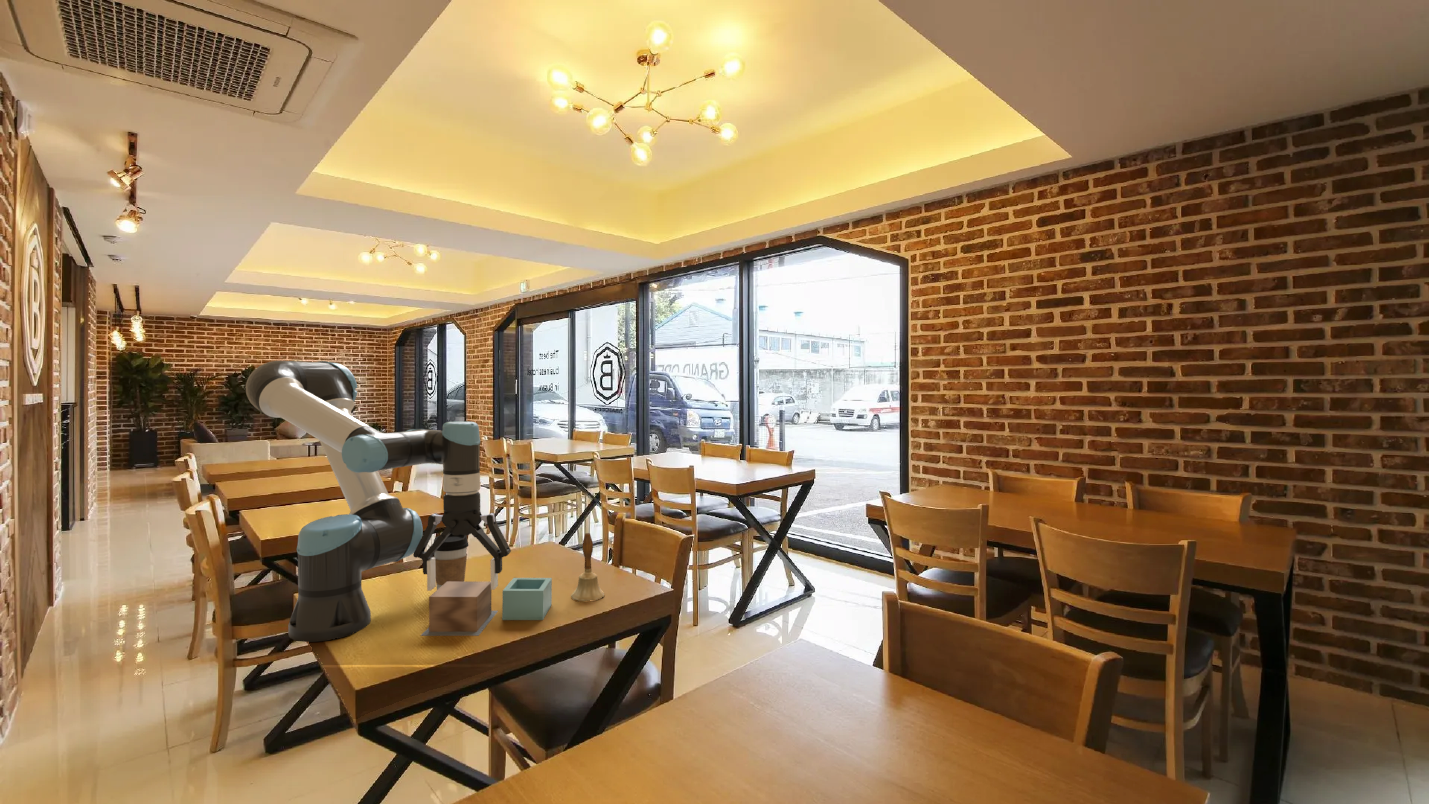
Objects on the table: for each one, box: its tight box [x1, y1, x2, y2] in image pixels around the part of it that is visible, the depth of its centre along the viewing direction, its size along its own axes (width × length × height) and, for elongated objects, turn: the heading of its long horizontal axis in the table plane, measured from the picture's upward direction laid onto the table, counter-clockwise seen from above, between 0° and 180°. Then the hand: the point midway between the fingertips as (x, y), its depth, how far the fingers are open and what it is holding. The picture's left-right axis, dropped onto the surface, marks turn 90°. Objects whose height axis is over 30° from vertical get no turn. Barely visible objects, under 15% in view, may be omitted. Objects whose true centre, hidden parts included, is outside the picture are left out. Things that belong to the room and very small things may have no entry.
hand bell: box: [570, 532, 605, 602], centre depth 157 cm, size 8×8×16 cm
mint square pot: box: [501, 577, 553, 621], centre depth 145 cm, size 9×9×7 cm
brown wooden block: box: [428, 581, 492, 632], centre depth 138 cm, size 10×10×8 cm
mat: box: [419, 610, 499, 637], centre depth 138 cm, size 12×14×1 cm
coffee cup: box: [433, 534, 470, 591], centre depth 156 cm, size 8×8×15 cm
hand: (463, 588), depth 138 cm, fingers open, 13 cm apart
